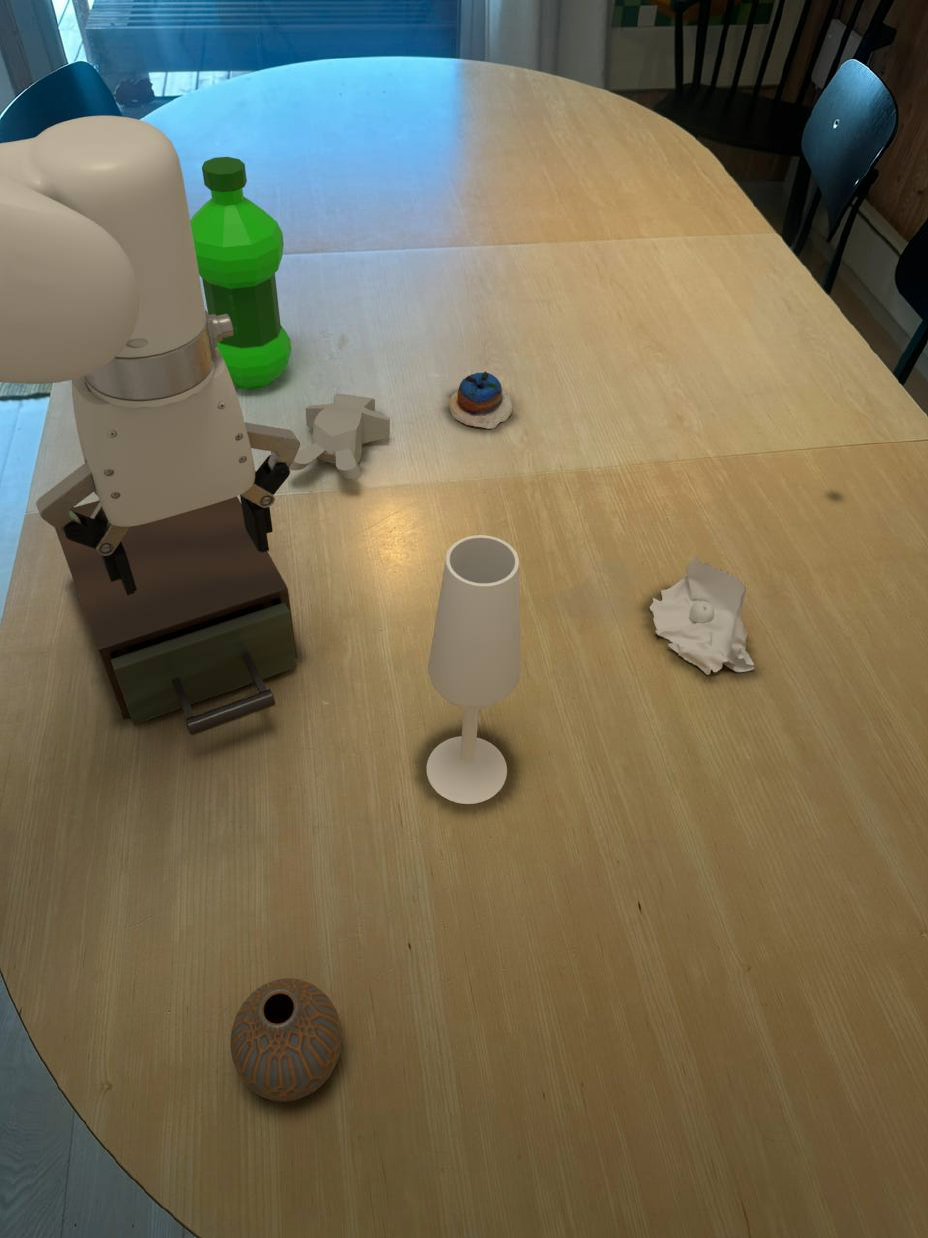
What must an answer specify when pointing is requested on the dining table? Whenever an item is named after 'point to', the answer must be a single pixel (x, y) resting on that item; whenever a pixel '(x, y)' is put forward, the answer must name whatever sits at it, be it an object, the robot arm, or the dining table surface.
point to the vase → (286, 1039)
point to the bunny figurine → (342, 433)
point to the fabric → (705, 619)
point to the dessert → (480, 401)
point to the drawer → (208, 666)
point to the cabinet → (172, 578)
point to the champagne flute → (474, 661)
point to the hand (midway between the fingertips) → (193, 560)
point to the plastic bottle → (241, 274)
